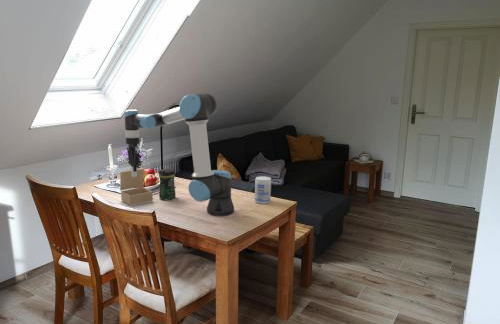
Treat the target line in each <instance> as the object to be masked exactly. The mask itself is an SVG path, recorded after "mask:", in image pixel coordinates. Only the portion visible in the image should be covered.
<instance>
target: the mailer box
mask: <svg viewBox="0 0 500 324" xmlns="http://www.w3.org/2000/svg"><path fill="white" fill-rule="evenodd" d="M120 194H121V195H120V196H121V197H120V198H121V202H122V203H125V204H126V205H127V206H130V207H133V206H137V205H141V204H147V203H152V202H153V200H154V199H153V197H154V195H153V191H151V190H150V189H148V188H145V186H143V187H138V188H132V189H127V190H121V191H120Z"/></svg>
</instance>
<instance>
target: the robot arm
mask: <svg viewBox="0 0 500 324" xmlns="http://www.w3.org/2000/svg"><path fill="white" fill-rule="evenodd" d="M218 103H219V102H218V101H217V99H216V97H215V96H214V95H213V94H210V93H192V94H191V93H190V94H186V95H184V96H183V97H182V99H181V100H180V102H179V106H178V107H176V108H171V109H168V110H165V111H162V112H159V113H158V112H157V113H149V114H139V110H137V109H126V110H125V111H124V128H125V132H124V133H125V144H126V145H128V147H126V151H127V158H128V163H129V165H130V170H131V174H132V177H137V169H138V167H137V166H139V164H140V153H141V150H140V149H139V148H138V145H139V144H140V129H146V130H148V129H149V130H151V129H153V128H156V127H166V126H169V125H170V124H174V123H176V122H181V121H183V120H185V124H187V125H188V128H189V137H190V145H191V154H192V163H193V164H192V165H193V173H192V174H191V181H190V182H189V184H188V186H187V187H188V193H189V195H190V196H191V198H193V199H194V200H195V201H197V202H205V201H208V203H207V206H206V213H207V214H208V215H210V216H216V217H222V216H223V217H224V216H229V215H232V214H234V212H235V206H234V203H233V200H232V173H231V172H230V171H227V170H221V169H219V170H218V169H213V170H212V168H211V158H210V150H209V140H208V130H207V129H208V128H207V123H208V122H209V120H210V119H209V116H212V115H214V114H215V113H216V112H217V111H218V107H219V105H218Z"/></svg>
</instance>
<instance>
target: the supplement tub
mask: <svg viewBox="0 0 500 324" xmlns="http://www.w3.org/2000/svg"><path fill="white" fill-rule="evenodd" d="M254 183H255V184H254V202H255V203H257V204H259V203H260V205H261V204H262V205H265V204H269V203H271V195H272V193H271V192H272V178H271V177H269V176H264V175H263V176H256V177H255V181H254Z"/></svg>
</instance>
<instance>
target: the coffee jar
mask: <svg viewBox="0 0 500 324" xmlns="http://www.w3.org/2000/svg"><path fill="white" fill-rule="evenodd" d="M175 176H176V170H175V168H172V167H167V168H162V169H159V171H158V177H159V190H158V192H159V194H158V198H159V199H160V200H162V201H169V200H172V199H175V198H176V197H177V196H176V188H175V187H176V186H175V185H176V184H175Z"/></svg>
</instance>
